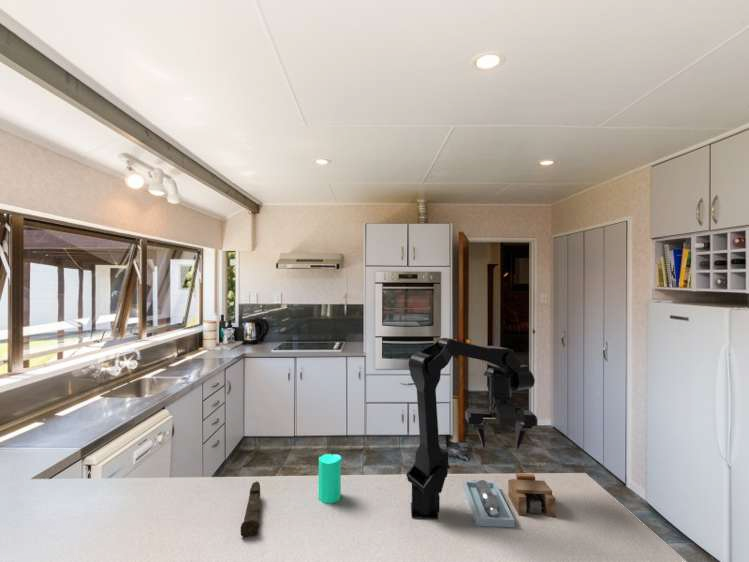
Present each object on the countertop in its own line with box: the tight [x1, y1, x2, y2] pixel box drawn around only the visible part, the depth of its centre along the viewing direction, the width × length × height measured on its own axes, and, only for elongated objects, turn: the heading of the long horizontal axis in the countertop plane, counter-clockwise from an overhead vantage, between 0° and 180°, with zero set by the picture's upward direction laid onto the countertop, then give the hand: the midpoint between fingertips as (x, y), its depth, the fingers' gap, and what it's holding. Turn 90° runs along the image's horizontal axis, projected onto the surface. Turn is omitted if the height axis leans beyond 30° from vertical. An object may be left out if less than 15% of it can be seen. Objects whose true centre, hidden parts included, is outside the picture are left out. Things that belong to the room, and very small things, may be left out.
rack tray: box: [462, 480, 516, 528], centre depth 102 cm, size 9×19×2 cm, turn 177°
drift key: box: [515, 473, 542, 514], centre depth 103 cm, size 5×9×6 cm, turn 177°
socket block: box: [507, 478, 556, 518], centre depth 102 cm, size 9×9×5 cm
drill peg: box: [476, 479, 500, 517], centre depth 100 cm, size 4×13×4 cm, turn 177°
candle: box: [317, 453, 342, 504], centre depth 105 cm, size 6×6×12 cm
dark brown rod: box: [239, 481, 261, 539], centre depth 97 cm, size 19×4×5 cm, turn 10°
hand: (500, 447), depth 110 cm, fingers open, 9 cm apart
